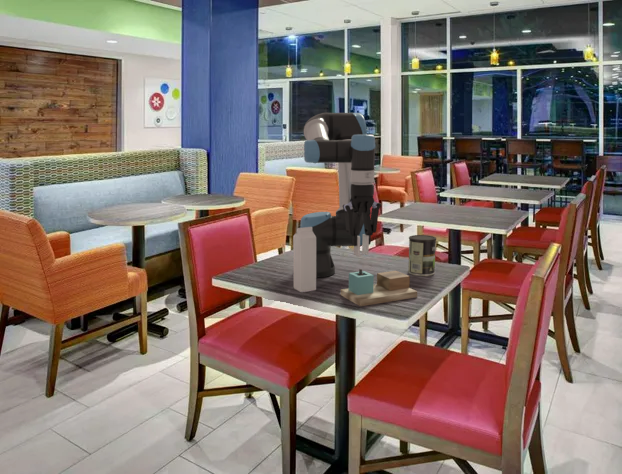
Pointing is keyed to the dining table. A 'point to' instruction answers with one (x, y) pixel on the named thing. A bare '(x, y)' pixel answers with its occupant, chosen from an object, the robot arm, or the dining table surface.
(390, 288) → the block
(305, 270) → the milk
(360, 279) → the teal hollow cube
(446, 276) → the dining table surface
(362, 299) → the base board
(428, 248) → the coffee can
